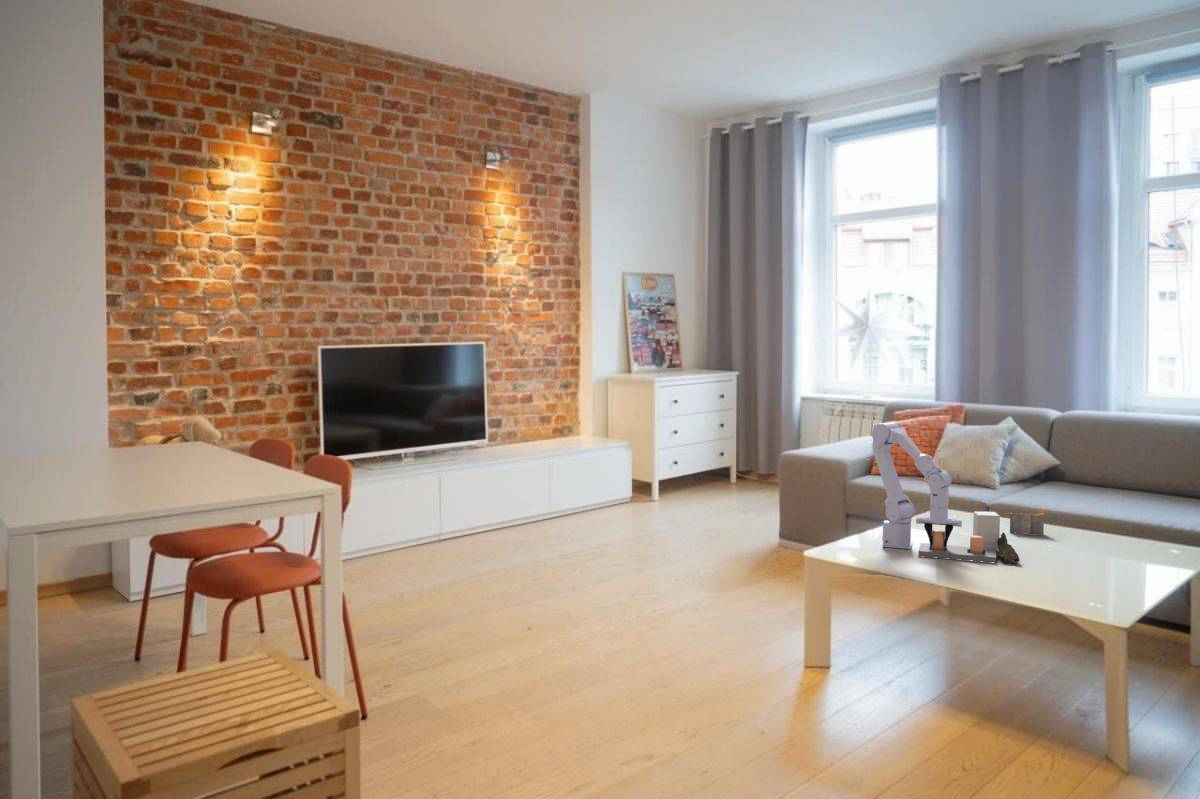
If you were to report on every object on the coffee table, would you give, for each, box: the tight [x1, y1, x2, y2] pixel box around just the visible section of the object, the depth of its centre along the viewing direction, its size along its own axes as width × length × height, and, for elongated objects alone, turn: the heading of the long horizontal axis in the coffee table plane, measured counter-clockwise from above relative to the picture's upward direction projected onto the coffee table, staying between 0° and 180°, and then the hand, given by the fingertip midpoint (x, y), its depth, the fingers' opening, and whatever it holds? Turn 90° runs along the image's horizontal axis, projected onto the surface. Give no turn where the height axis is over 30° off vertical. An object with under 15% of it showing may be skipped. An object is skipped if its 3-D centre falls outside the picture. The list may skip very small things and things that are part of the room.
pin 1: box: [932, 529, 945, 551], centre depth 302 cm, size 4×4×7 cm
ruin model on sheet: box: [1009, 509, 1045, 536], centre depth 332 cm, size 11×3×10 cm, turn 64°
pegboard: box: [917, 542, 997, 564], centre depth 300 cm, size 24×12×2 cm, turn 67°
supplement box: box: [972, 511, 1001, 551], centre depth 309 cm, size 7×7×13 cm
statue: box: [997, 532, 1020, 565], centre depth 297 cm, size 6×6×20 cm
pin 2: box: [969, 535, 983, 554], centre depth 297 cm, size 4×4×7 cm
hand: (938, 545), depth 302 cm, fingers closed on pin 1, 4 cm apart
